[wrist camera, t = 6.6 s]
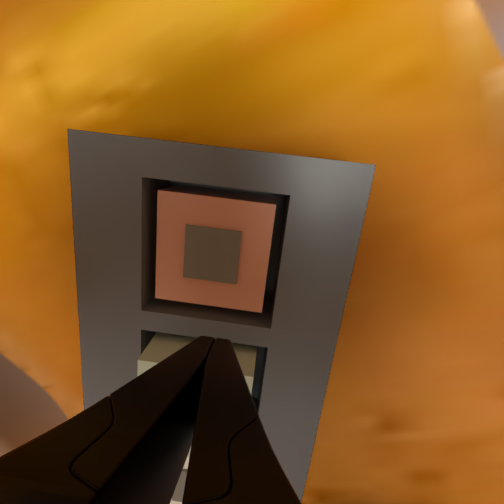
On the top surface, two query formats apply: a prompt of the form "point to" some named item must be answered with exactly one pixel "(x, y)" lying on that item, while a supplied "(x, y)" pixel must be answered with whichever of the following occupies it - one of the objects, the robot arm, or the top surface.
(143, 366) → the sage key
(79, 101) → the top surface
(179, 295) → the terracotta key
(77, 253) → the gray keypad housing
